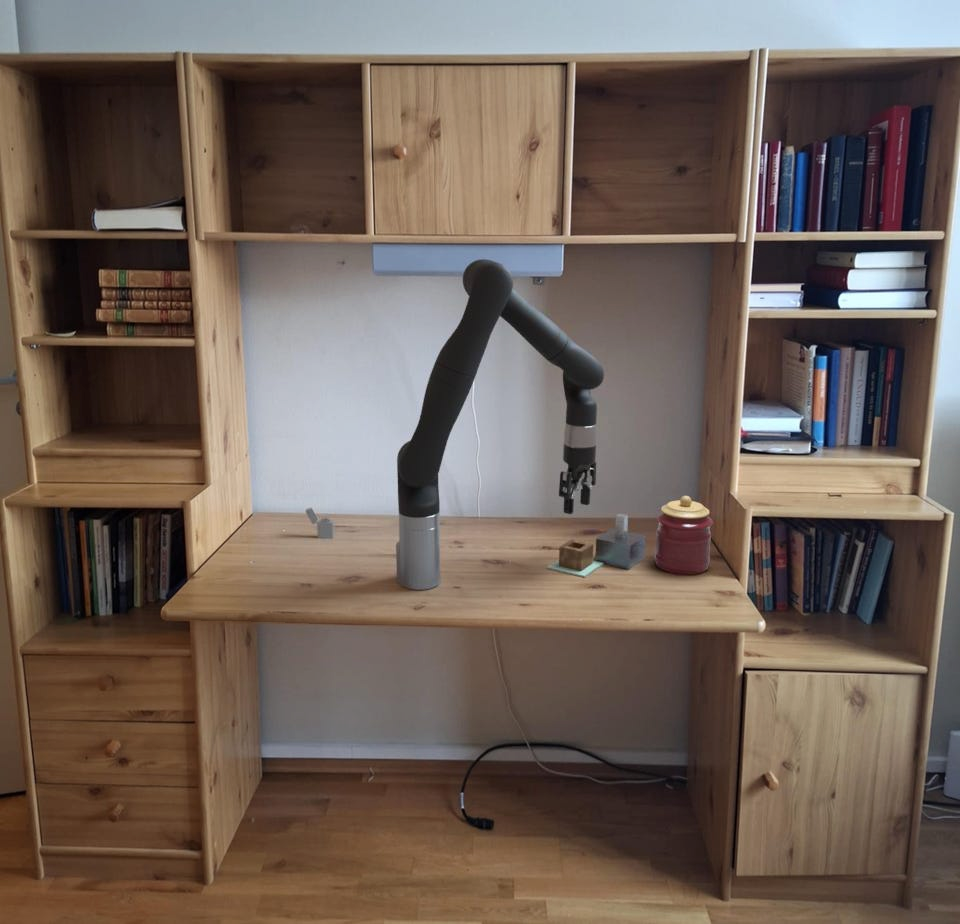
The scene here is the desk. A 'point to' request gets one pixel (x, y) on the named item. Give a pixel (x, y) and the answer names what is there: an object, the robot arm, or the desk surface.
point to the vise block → (620, 545)
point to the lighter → (321, 525)
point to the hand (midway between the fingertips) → (576, 508)
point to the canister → (683, 537)
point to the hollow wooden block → (576, 555)
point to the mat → (583, 573)
